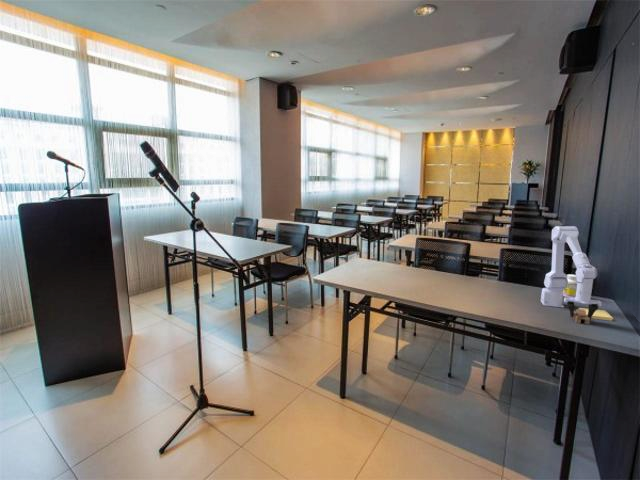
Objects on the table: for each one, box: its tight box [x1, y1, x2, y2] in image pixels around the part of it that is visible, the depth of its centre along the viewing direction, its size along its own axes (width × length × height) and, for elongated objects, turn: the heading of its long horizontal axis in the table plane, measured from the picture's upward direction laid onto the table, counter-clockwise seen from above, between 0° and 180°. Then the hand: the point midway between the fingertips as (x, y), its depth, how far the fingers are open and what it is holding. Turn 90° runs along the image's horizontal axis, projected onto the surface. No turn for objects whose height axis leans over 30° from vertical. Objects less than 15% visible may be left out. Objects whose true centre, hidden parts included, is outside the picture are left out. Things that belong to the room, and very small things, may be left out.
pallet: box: [571, 310, 591, 325], centre depth 166 cm, size 5×8×3 cm, turn 158°
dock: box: [578, 307, 614, 322], centre depth 171 cm, size 11×10×2 cm
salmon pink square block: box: [575, 308, 586, 316], centre depth 165 cm, size 3×3×2 cm
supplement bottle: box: [563, 273, 578, 298], centre depth 197 cm, size 7×7×13 cm
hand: (580, 317), depth 166 cm, fingers open, 6 cm apart
